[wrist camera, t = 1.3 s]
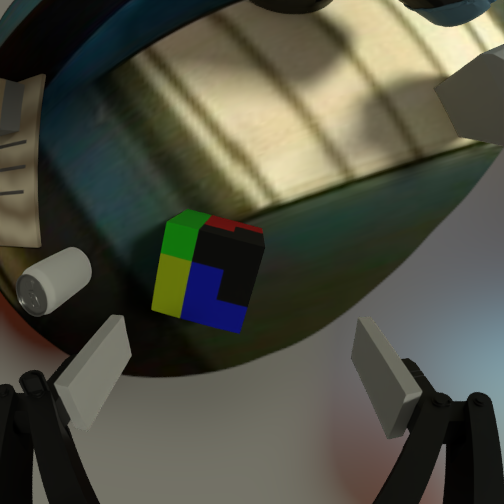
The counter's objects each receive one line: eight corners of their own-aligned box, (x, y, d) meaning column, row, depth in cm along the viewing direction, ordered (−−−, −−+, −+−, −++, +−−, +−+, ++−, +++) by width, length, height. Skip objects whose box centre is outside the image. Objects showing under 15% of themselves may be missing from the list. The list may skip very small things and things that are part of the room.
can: (86, 243, 40) (39, 267, 28) (97, 284, 41) (56, 319, 30) (55, 249, 40) (7, 273, 28) (66, 288, 42) (24, 320, 30)
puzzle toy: (242, 297, 42) (239, 333, 32) (172, 278, 41) (151, 309, 32) (261, 228, 39) (265, 247, 30) (187, 208, 39) (166, 221, 29)
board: (-6, 93, 32) (-9, 93, 32) (46, 74, 33) (42, 73, 32) (-8, 243, 40) (-12, 244, 39) (41, 246, 40) (37, 247, 39)
